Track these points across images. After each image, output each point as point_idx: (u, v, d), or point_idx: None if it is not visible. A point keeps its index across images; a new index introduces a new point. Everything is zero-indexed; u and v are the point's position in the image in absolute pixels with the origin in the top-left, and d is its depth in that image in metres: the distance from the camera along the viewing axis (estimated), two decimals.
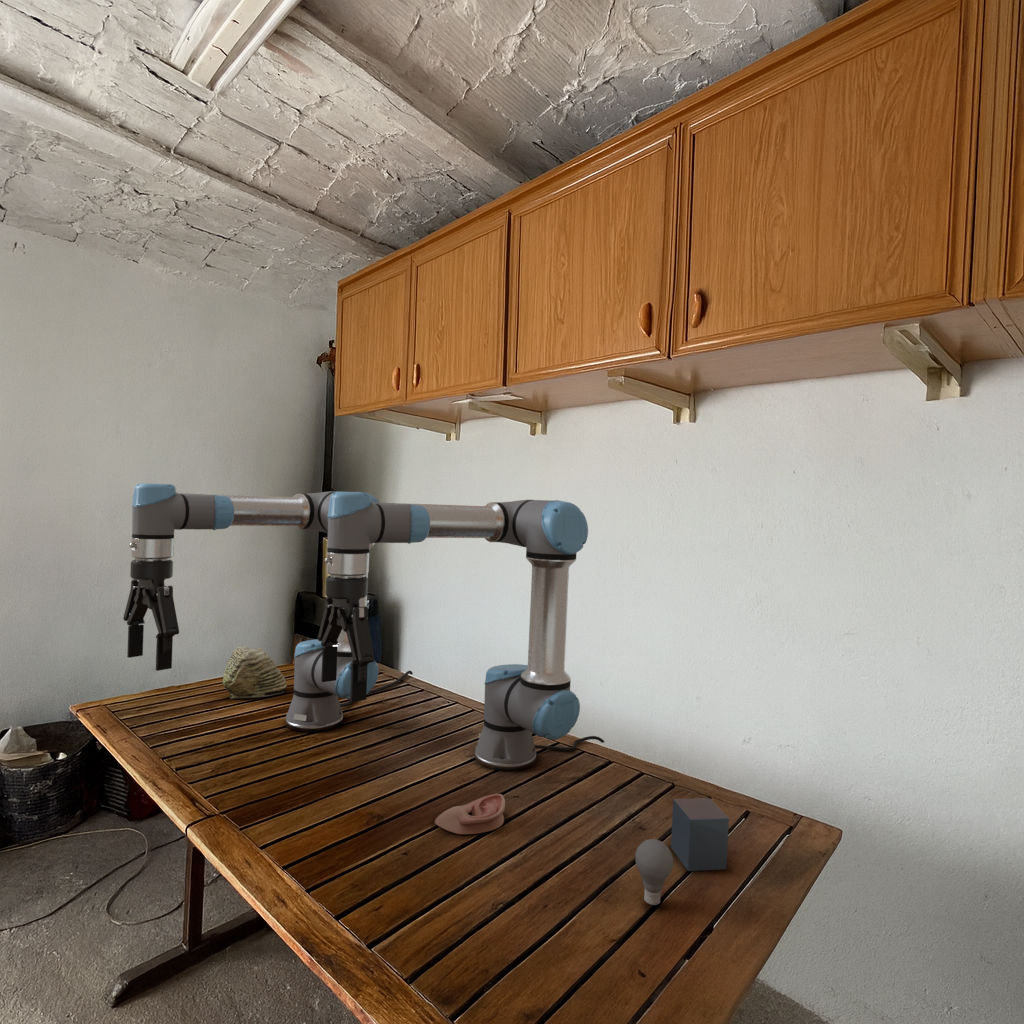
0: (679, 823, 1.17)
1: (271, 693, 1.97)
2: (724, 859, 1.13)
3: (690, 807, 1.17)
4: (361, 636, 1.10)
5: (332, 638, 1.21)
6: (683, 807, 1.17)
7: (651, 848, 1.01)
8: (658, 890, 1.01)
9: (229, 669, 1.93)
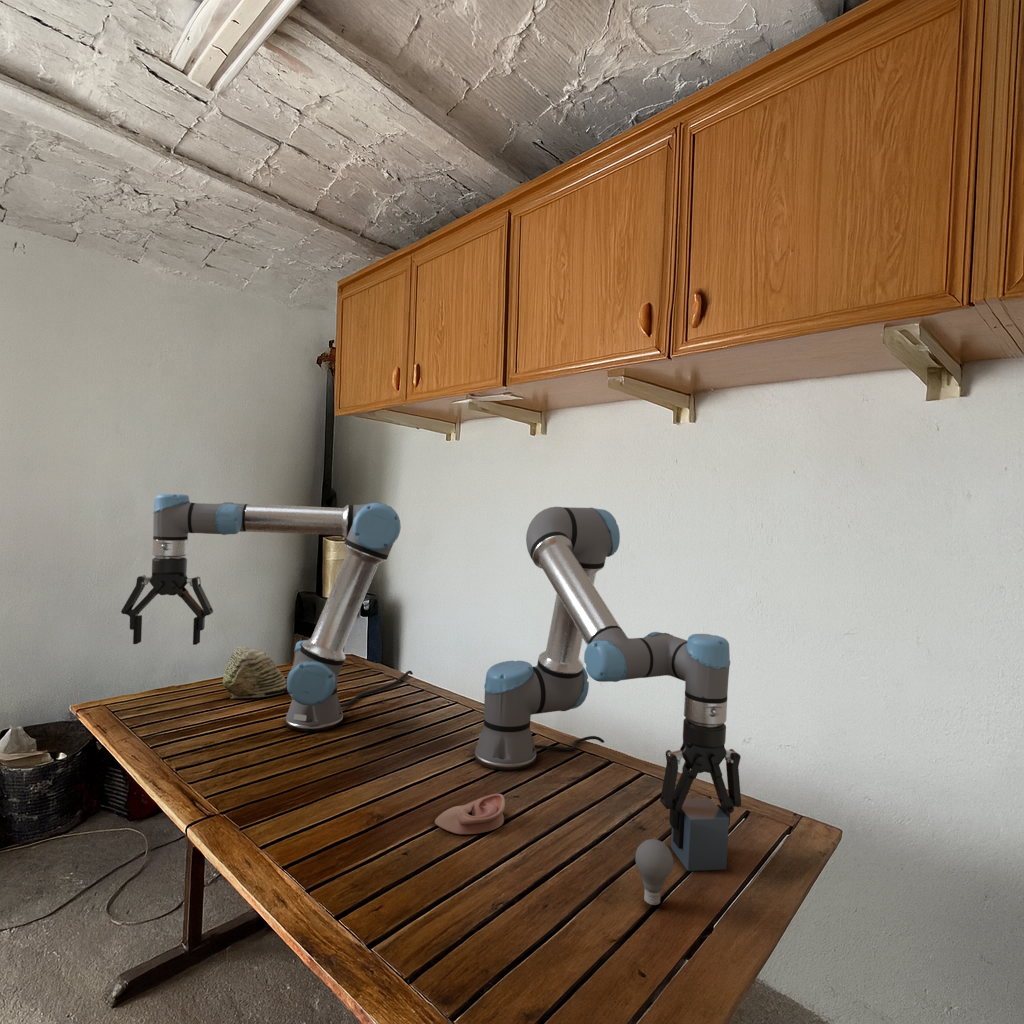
0: None
1: (271, 693, 1.97)
2: (724, 859, 1.13)
3: (690, 807, 1.17)
4: None
5: None
6: (683, 807, 1.17)
7: (651, 848, 1.01)
8: (658, 890, 1.01)
9: (229, 669, 1.93)
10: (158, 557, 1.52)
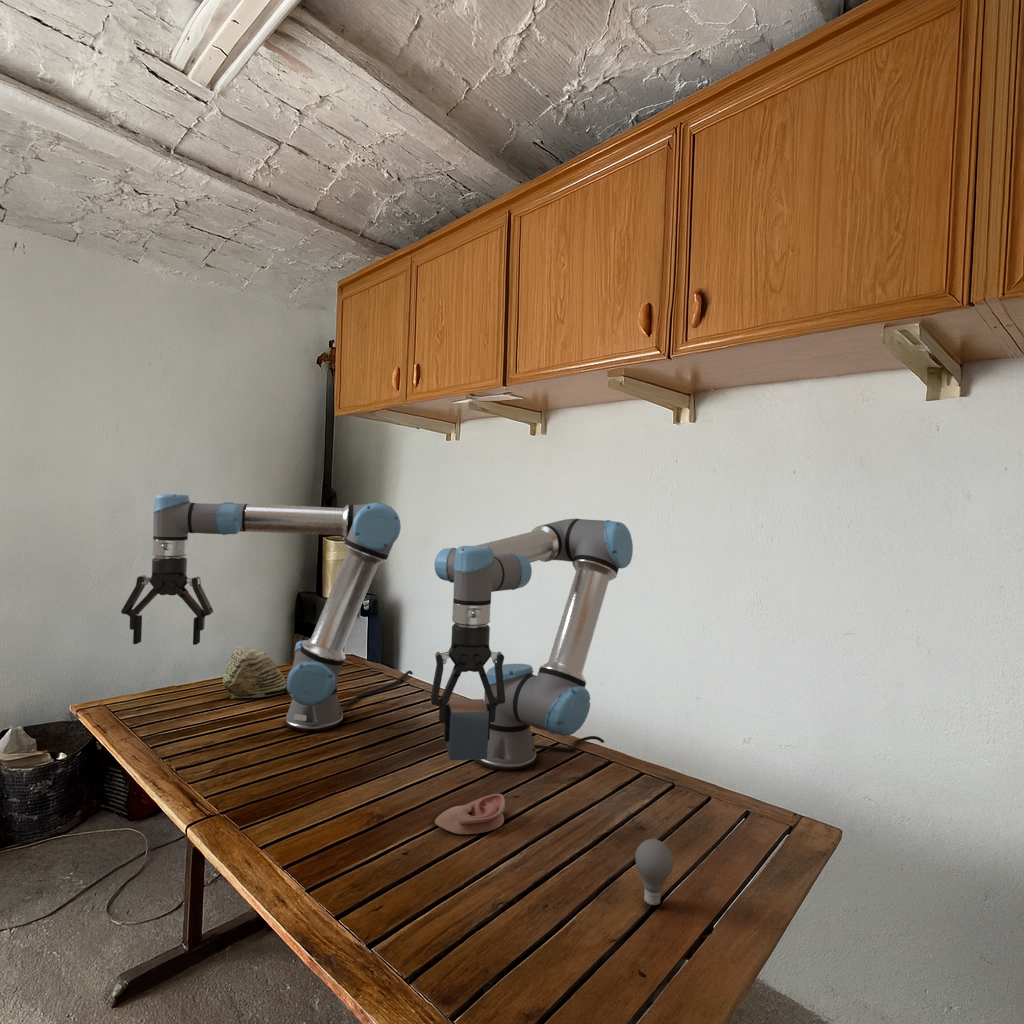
0: None
1: (271, 693, 1.97)
2: (485, 749, 1.23)
3: (458, 704, 1.26)
4: (502, 679, 1.27)
5: None
6: (452, 704, 1.26)
7: (651, 848, 1.01)
8: (658, 890, 1.01)
9: (229, 669, 1.93)
10: (158, 557, 1.52)
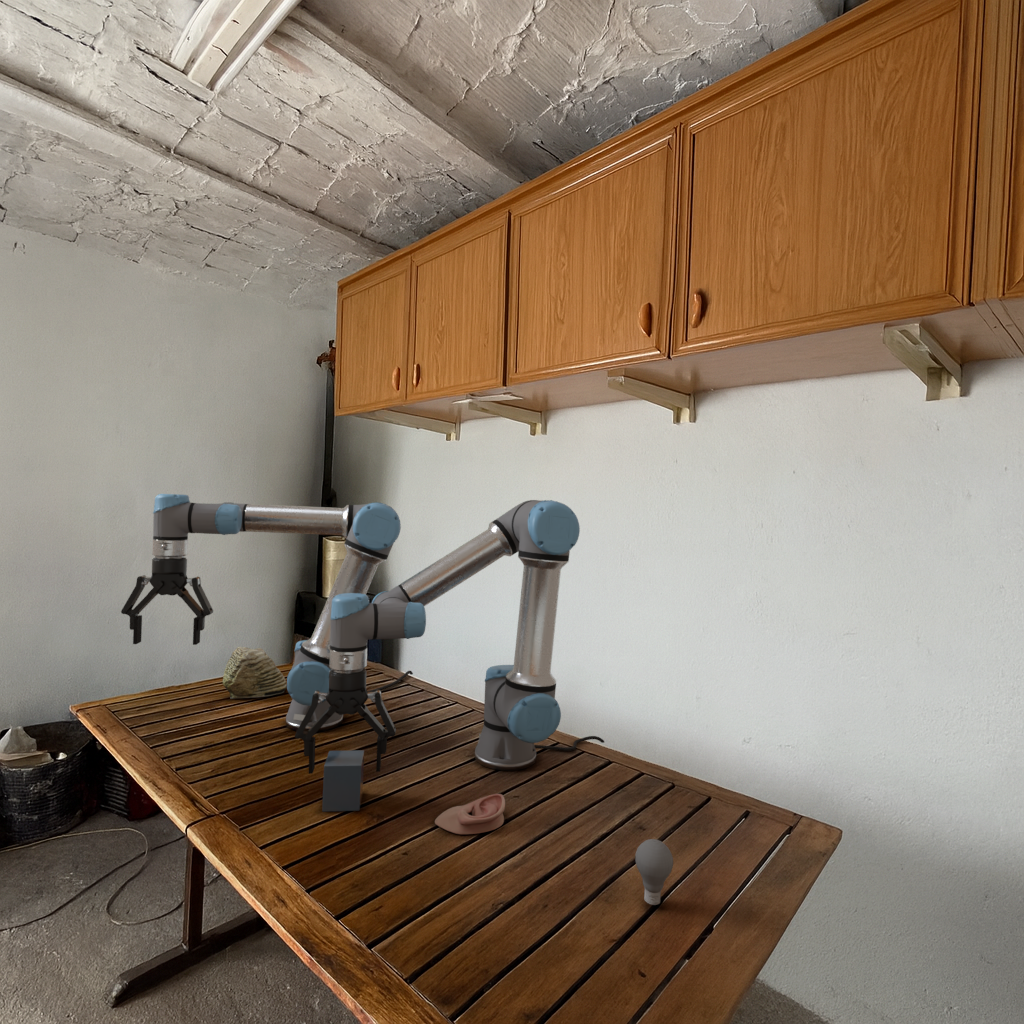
0: None
1: (271, 693, 1.97)
2: (357, 801, 1.28)
3: (336, 757, 1.32)
4: (387, 714, 1.32)
5: None
6: (330, 756, 1.32)
7: (651, 848, 1.01)
8: (658, 890, 1.01)
9: (229, 669, 1.93)
10: (158, 557, 1.52)
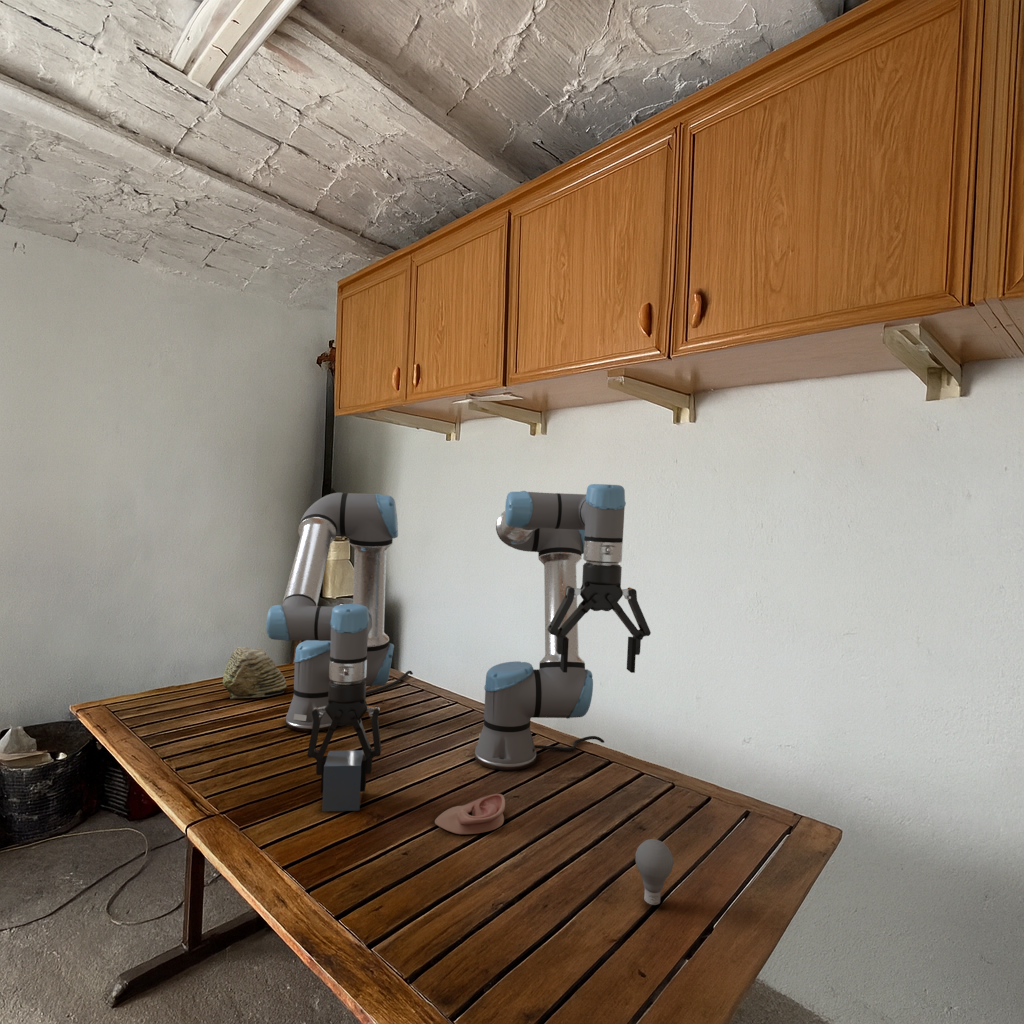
0: None
1: (271, 693, 1.97)
2: (357, 801, 1.28)
3: (336, 757, 1.32)
4: None
5: None
6: (330, 756, 1.32)
7: (651, 848, 1.01)
8: (658, 890, 1.01)
9: (229, 669, 1.93)
10: (338, 683, 1.29)
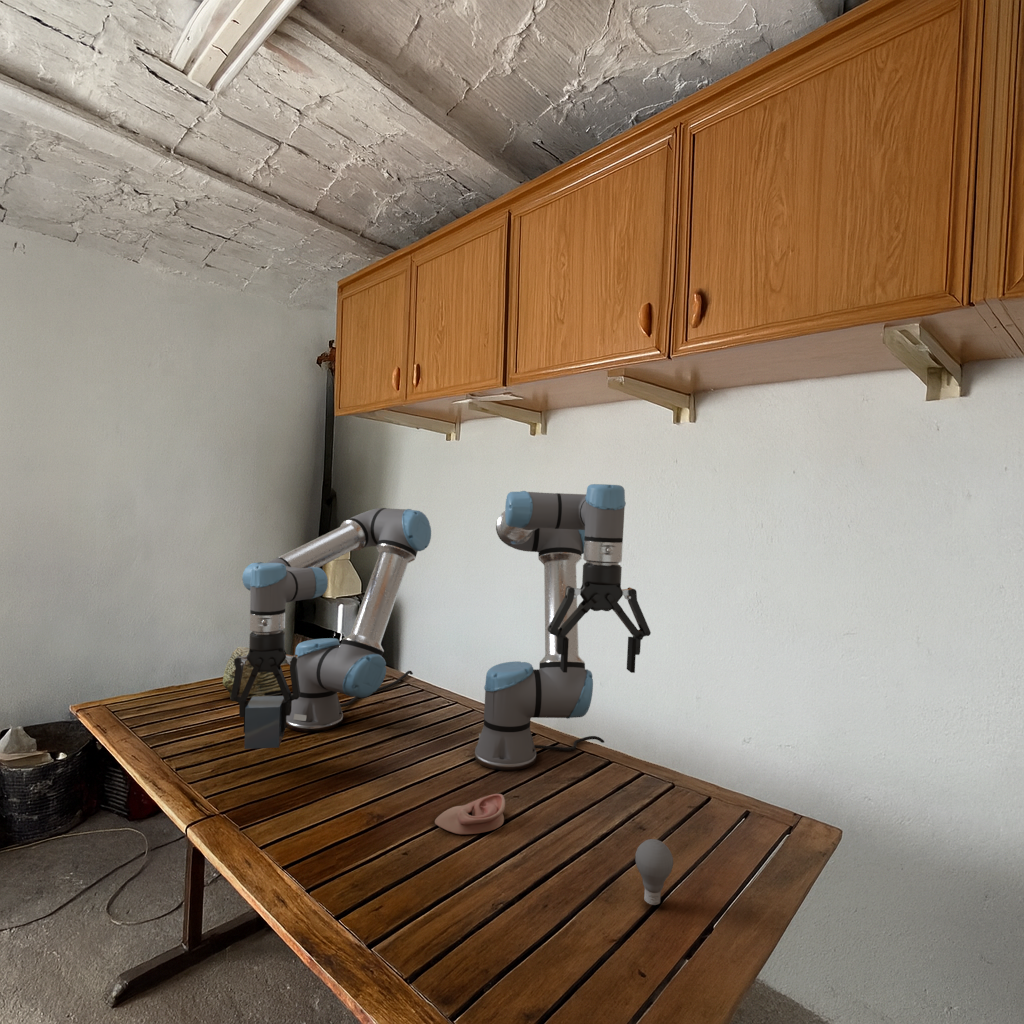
0: None
1: (271, 693, 1.97)
2: (276, 739, 1.42)
3: (258, 701, 1.45)
4: None
5: None
6: (252, 701, 1.45)
7: (651, 848, 1.01)
8: (658, 890, 1.01)
9: (229, 669, 1.93)
10: (257, 633, 1.42)
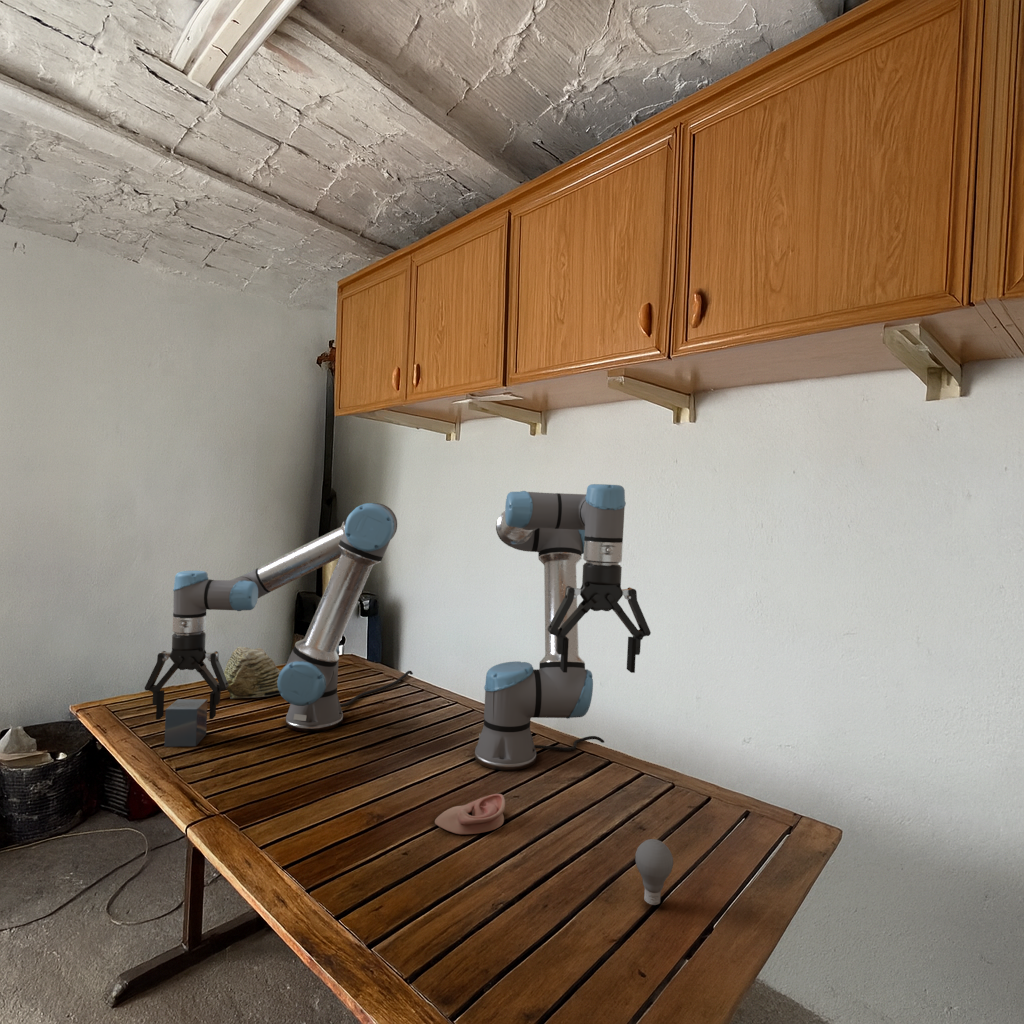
0: None
1: (271, 693, 1.97)
2: (194, 738, 1.57)
3: (180, 703, 1.60)
4: None
5: None
6: (175, 703, 1.60)
7: (651, 848, 1.01)
8: (658, 890, 1.01)
9: (229, 669, 1.93)
10: (178, 634, 1.57)
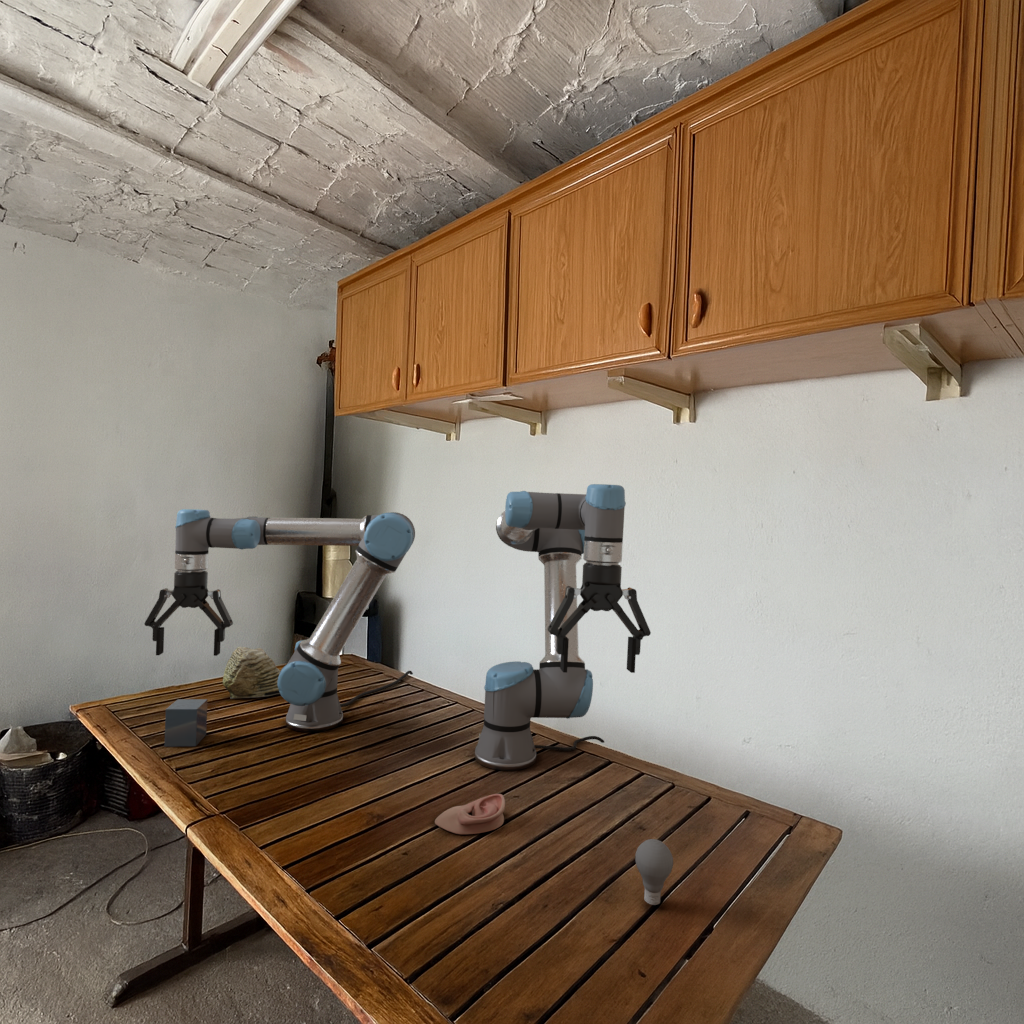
0: None
1: (271, 693, 1.97)
2: (194, 738, 1.57)
3: (180, 703, 1.60)
4: None
5: None
6: (175, 703, 1.60)
7: (651, 848, 1.01)
8: (658, 890, 1.01)
9: (229, 669, 1.93)
10: (180, 571, 1.57)
